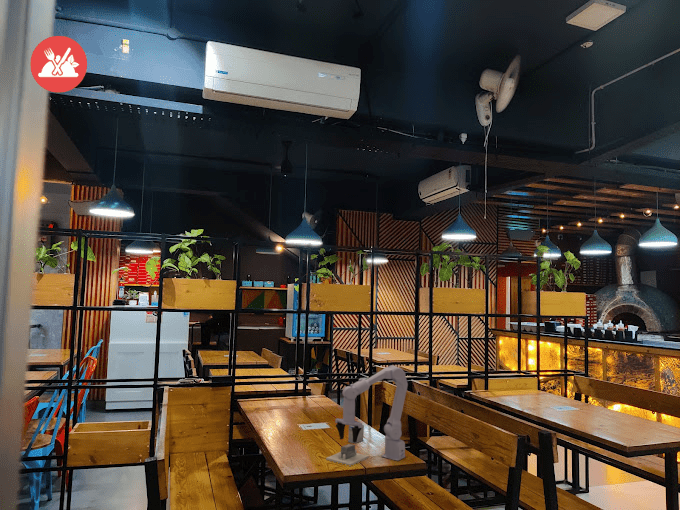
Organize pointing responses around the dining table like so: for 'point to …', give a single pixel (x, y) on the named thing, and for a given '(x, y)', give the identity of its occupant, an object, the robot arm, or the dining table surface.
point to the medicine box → (360, 436)
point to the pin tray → (348, 461)
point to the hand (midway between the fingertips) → (348, 440)
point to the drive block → (348, 451)
